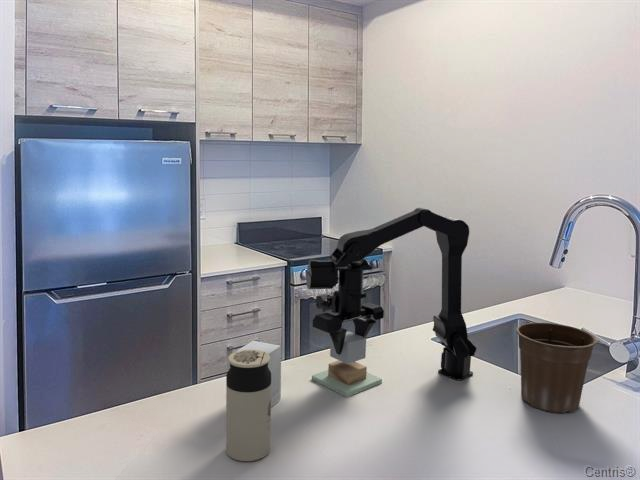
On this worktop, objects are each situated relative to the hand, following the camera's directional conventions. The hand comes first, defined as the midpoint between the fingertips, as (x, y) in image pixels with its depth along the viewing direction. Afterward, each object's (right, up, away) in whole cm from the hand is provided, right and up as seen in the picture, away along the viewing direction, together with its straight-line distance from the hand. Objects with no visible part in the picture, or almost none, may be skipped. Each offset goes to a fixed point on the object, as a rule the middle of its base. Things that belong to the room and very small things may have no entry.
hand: (348, 351), depth 123 cm
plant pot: (+45, -10, -6) cm, 47 cm away
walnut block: (0, -7, +1) cm, 7 cm away
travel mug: (-20, -12, -29) cm, 37 cm away
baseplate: (0, -8, +1) cm, 8 cm away
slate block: (0, -2, 0) cm, 2 cm away
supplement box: (-20, -9, -11) cm, 25 cm away
